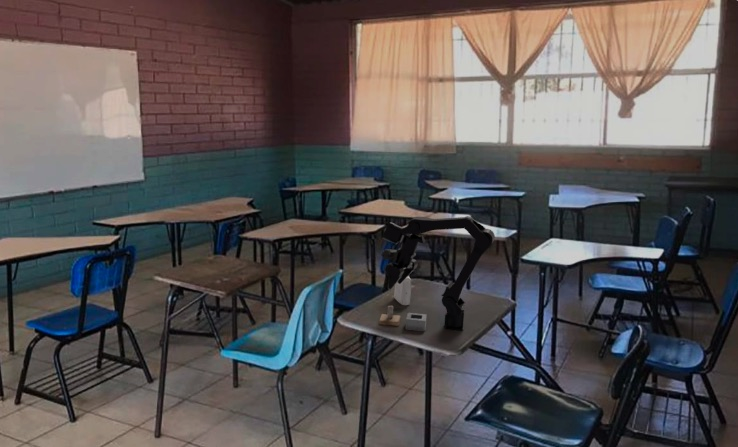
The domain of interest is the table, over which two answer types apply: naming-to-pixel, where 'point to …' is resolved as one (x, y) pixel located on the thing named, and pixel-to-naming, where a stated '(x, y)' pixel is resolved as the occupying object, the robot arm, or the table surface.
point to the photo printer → (403, 291)
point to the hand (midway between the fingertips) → (394, 286)
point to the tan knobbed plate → (389, 318)
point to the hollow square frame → (416, 321)
